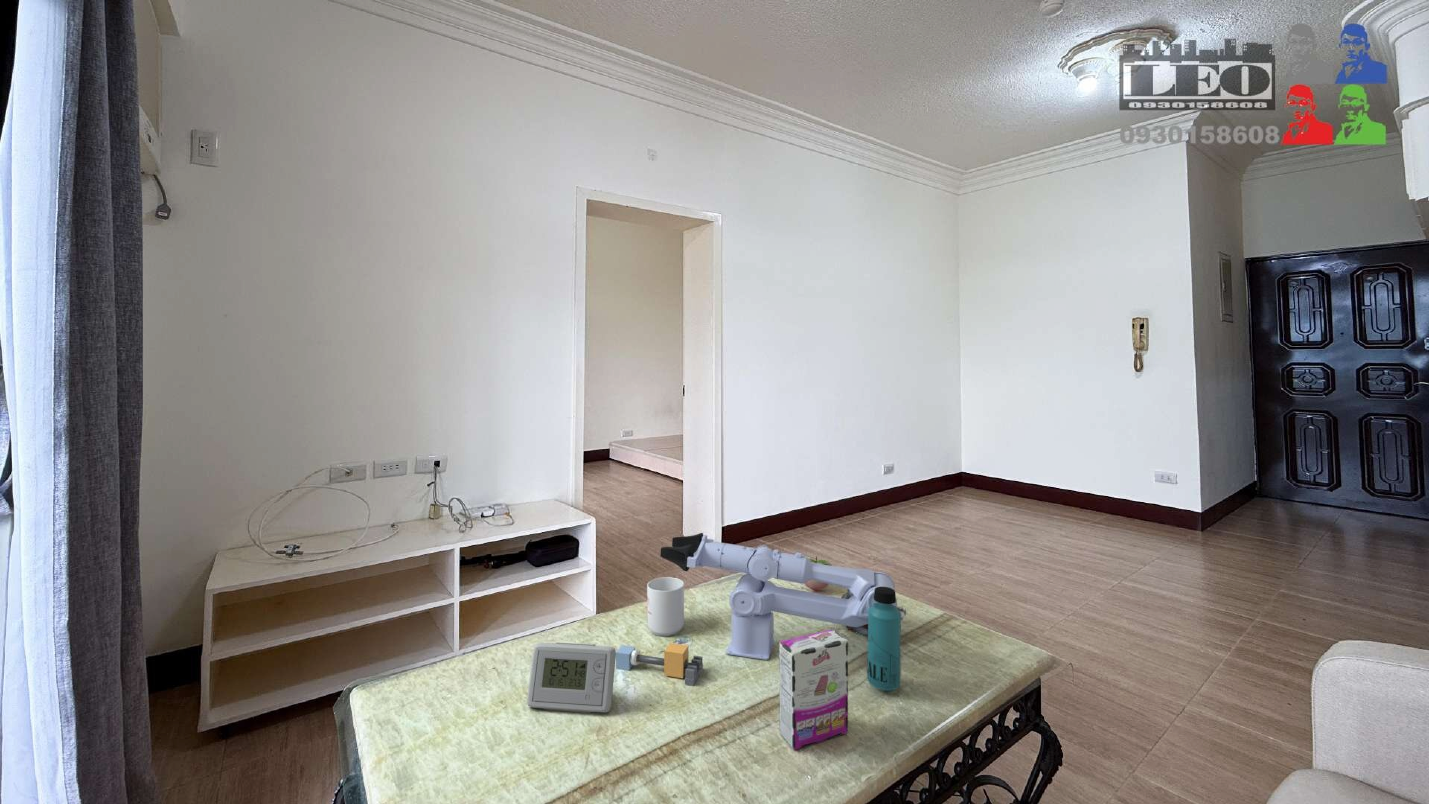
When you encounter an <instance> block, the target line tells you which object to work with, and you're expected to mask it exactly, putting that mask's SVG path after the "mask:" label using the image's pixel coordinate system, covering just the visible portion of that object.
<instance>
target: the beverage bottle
mask: <svg viewBox="0 0 1429 804" xmlns="http://www.w3.org/2000/svg"><path fill="white" fill-rule="evenodd" d="M896 599H897V597H896V589H895V590H893V589H892V588H889V587H876V588H875V591H874V600H875V601H876V602H878V603H875V604H873V605H872V606H871V607H869V609H868V622H867V623H868V627H867V630H868V632H867V633H868V635H867V636H866V637H867V646H866V647H867V657H866V663H867V669H866V674H867V675H866V677H867V681H868V683H869V684H870V686H872V687H874V688H876V689H878V690H882V691H894V690H897V689H898V688H899V687H900V684H901V675H902V674H901V673H902V668H901V666H902V663H901V662H902V659H901V658H902V650H901V640H902V639H901V633H902V631H901V630H902V620H901V612H900V611H899V610H898V609H897V608H896V607H895V606H894V605H892V604H893V603H895V602H896Z"/></svg>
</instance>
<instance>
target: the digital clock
mask: <svg viewBox="0 0 1429 804" xmlns="http://www.w3.org/2000/svg"><path fill="white" fill-rule="evenodd" d="M616 652H617V650H616V648H615V647H613V646H605V645H603V646H602V645H596V644H589V643H588V644H587V643H570V642H569V643H568V642H555V643H551V642H538V643H536V644H535V645H534V646H533V652H532V658H531V667H530V674H529V681H528V689H527V697H526V705H527V707H529V708H533V709H544V710H545V711H556V712H557V711H558V712H559V711H561V712H572V713H573V712H574V713H587V714H588V713H589V714H591V713H608V712H610V711H611V707H612V703H613V702H612V701H613V691H614V683H615V682H614V681H615V679H614V678H615V669H616Z"/></svg>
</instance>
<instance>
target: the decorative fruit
mask: <svg viewBox="0 0 1429 804" xmlns="http://www.w3.org/2000/svg"><path fill="white" fill-rule="evenodd" d="M808 559H809V560H810V561H811V562H812V563H813V564H821V565H829V566H833V564H831V563H830V562H829V561H827V560H823V559H818V556H815V559H814V558H809V557H808ZM803 585H805V587H806V588H809V589H811V590H813V591H814V592H817V591H820V590H823V589H825V588H827V587H828V586H829V585H830V584H828V583H824V582H820V581H815V580H809V581H807V582H806V583H804V584H803Z"/></svg>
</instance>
